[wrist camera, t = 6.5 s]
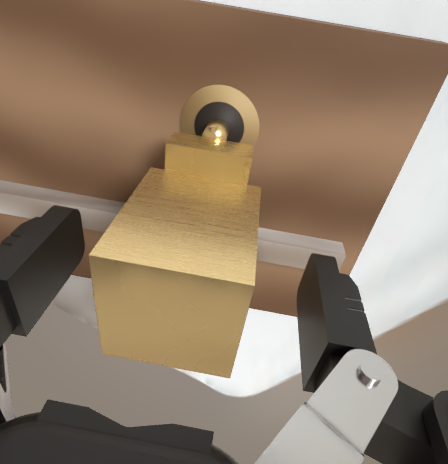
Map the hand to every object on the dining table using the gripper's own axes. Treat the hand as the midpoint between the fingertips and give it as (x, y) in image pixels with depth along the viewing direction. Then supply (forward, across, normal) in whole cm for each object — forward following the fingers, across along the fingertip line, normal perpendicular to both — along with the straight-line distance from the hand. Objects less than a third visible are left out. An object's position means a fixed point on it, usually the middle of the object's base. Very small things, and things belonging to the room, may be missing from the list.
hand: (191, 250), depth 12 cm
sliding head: (+4, 0, 0) cm, 4 cm away
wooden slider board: (+6, +5, 0) cm, 8 cm away
